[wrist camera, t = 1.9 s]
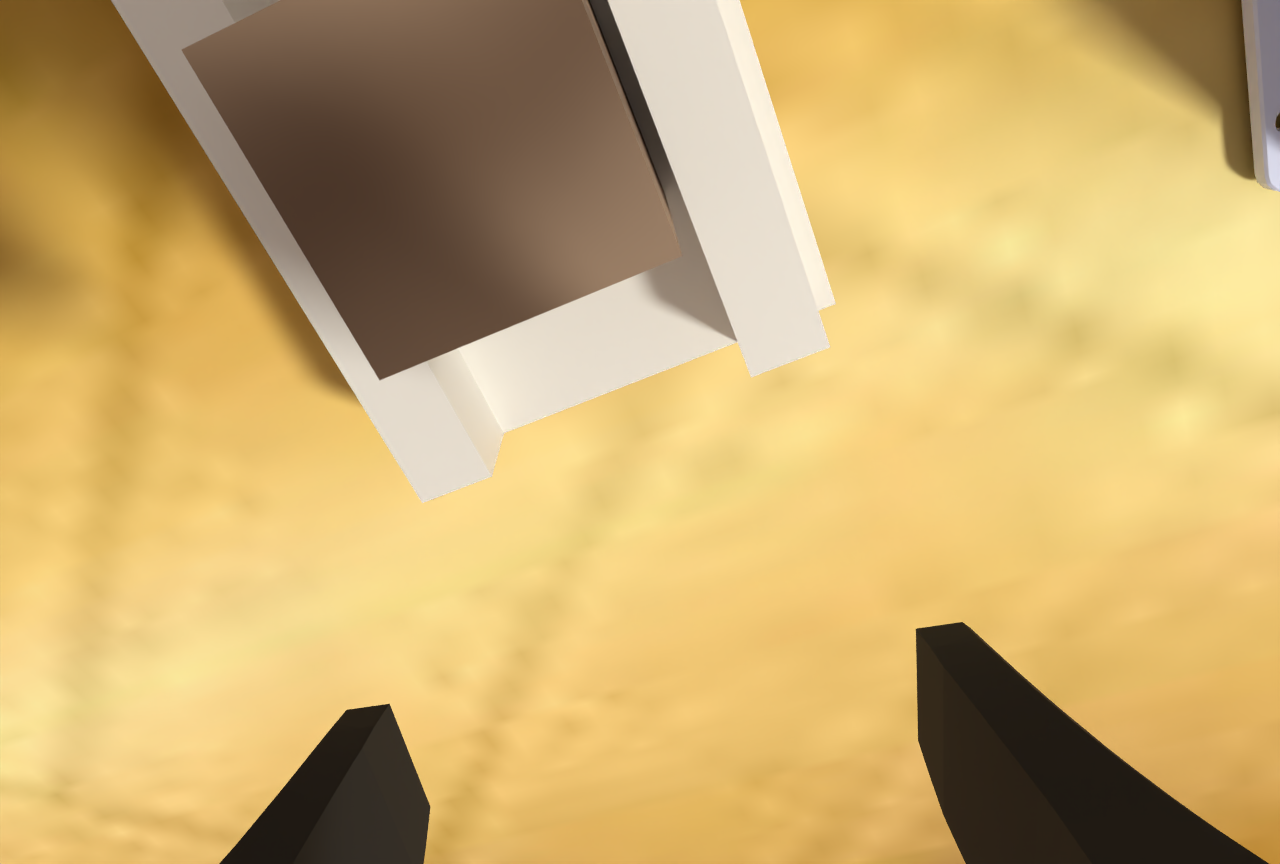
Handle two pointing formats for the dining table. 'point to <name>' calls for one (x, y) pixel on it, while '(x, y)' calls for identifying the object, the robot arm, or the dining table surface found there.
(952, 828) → the robot arm
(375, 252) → the walnut block
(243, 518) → the dining table surface
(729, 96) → the chute
